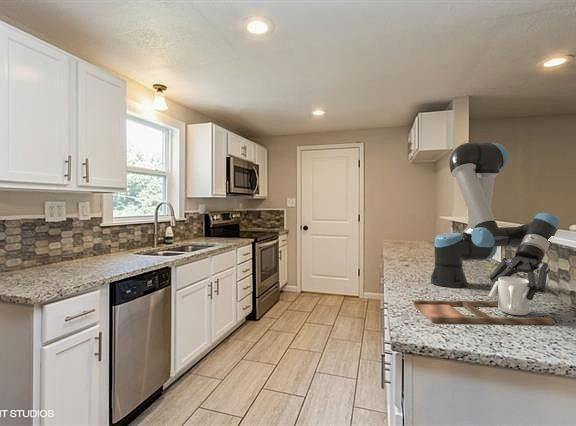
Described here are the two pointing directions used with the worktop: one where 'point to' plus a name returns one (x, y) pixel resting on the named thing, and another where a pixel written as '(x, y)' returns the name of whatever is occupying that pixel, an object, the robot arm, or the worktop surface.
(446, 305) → the flat wooden frame
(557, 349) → the worktop surface
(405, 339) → the worktop surface
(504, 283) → the mug
